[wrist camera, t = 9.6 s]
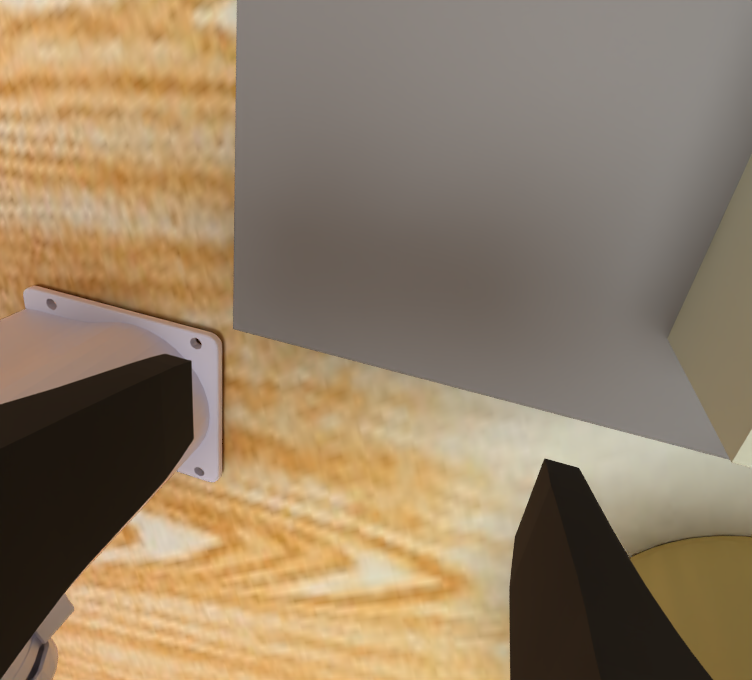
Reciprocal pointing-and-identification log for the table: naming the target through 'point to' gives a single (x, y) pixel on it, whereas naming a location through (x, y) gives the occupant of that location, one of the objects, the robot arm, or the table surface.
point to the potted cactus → (706, 598)
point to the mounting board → (492, 191)
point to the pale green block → (723, 327)
